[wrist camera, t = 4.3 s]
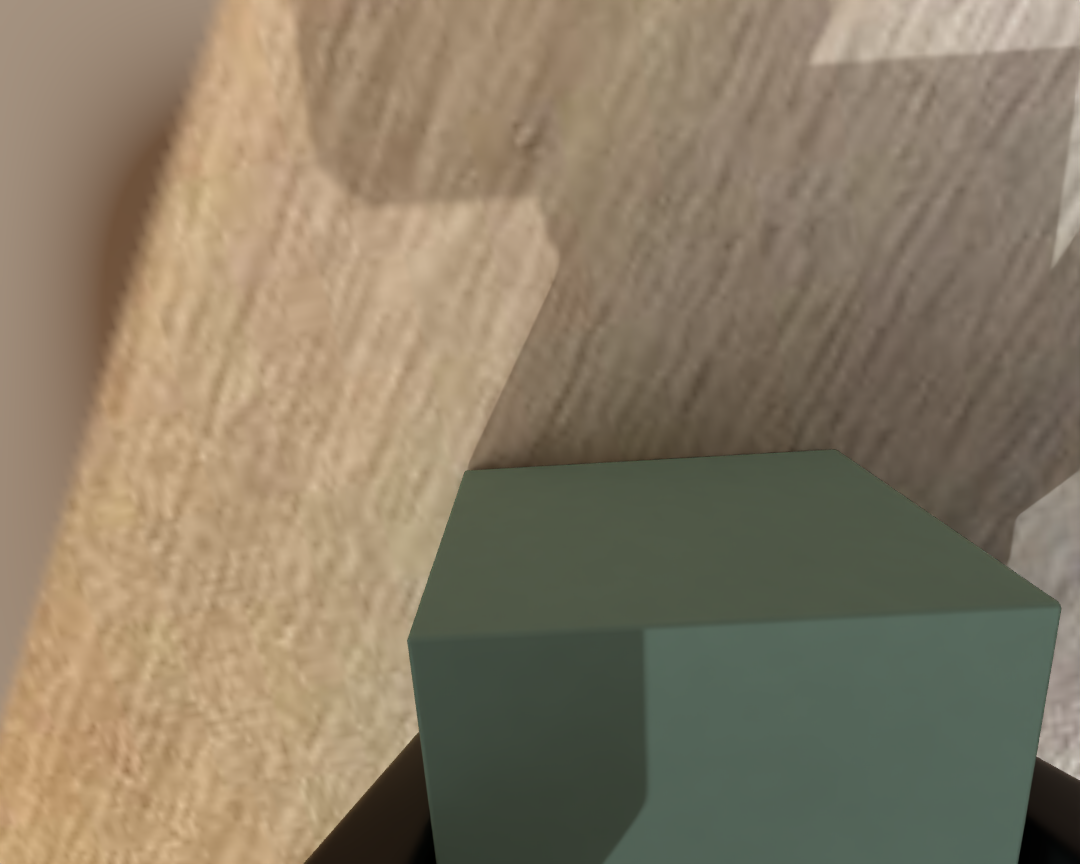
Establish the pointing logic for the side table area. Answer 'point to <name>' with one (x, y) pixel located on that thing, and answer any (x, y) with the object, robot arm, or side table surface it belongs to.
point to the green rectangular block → (723, 670)
